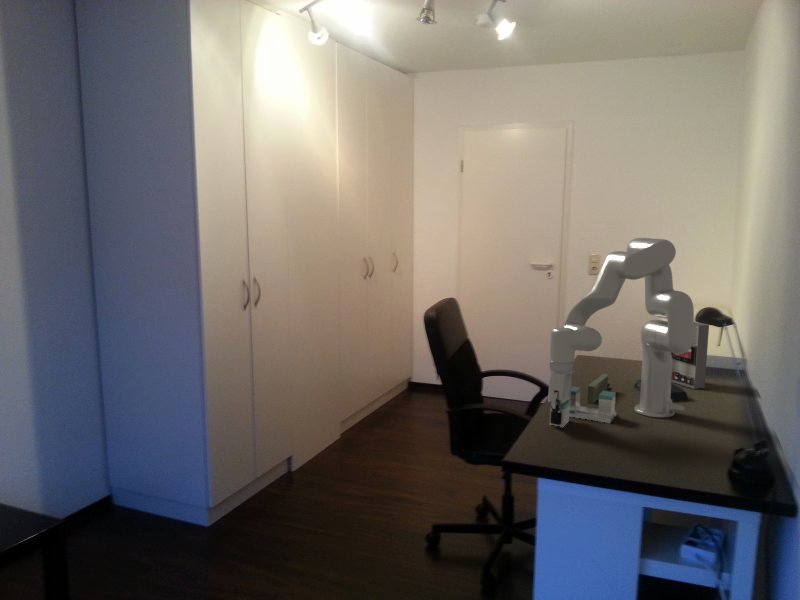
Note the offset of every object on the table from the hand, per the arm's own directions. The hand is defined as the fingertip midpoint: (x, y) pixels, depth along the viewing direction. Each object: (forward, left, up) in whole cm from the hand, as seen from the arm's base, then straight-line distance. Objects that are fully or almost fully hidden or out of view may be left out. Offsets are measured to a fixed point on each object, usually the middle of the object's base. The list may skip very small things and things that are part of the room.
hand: (559, 420), depth 205 cm
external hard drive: (-23, -54, -2) cm, 59 cm away
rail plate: (-6, -14, -1) cm, 15 cm away
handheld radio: (-4, -40, -2) cm, 41 cm away
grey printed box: (-30, -74, -1) cm, 79 cm away
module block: (0, 0, -1) cm, 1 cm away
